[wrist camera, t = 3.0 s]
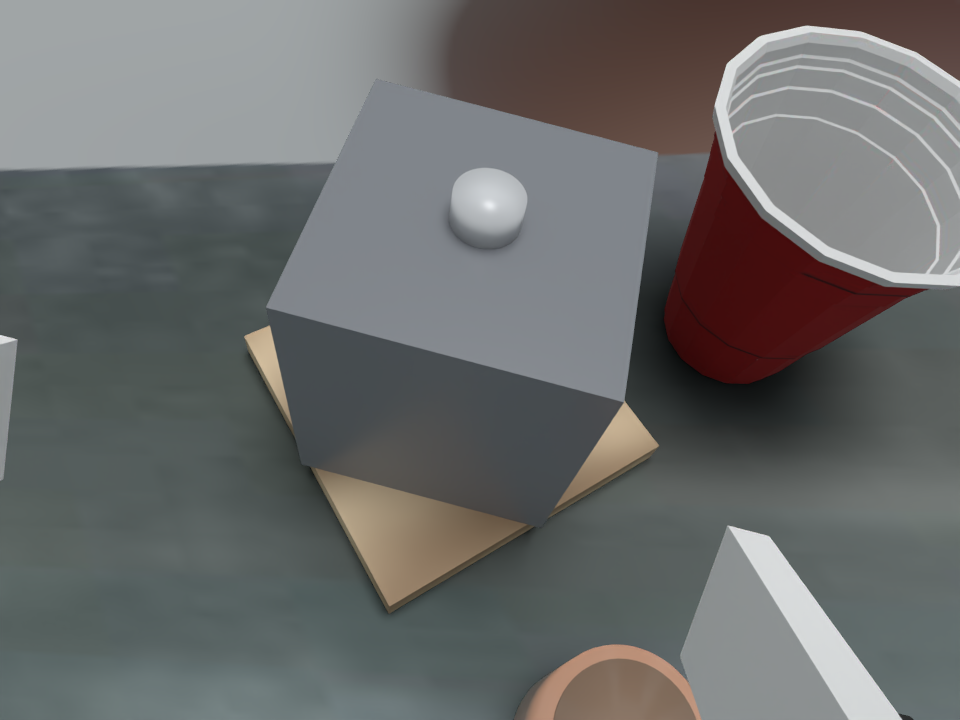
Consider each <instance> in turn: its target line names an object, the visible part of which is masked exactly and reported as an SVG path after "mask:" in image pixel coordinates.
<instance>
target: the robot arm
mask: <svg viewBox="0 0 960 720" xmlns="http://www.w3.org/2000/svg"><path fill="white" fill-rule="evenodd" d="M16 349H17V339H13V338H9V337H5V336H1V335H0V480H2V479H3V476H4V467H5V457H6V447H7V437H8V428H9V418H10V408H11V398H12V388H13V379H14V369H15V359H16ZM680 658H681V661H682V664H683V667H684V670H685V673H686V676H687V678H688V681H689V684H690V687H691V690H692V693H693V696H694V699H695V702H696V705H697V708H698V711H699V714H700V717H701V719H702V720H913V719H912V718H911V717H910V716H906V715H902V714H899V713H897V712H896V710H895V709H894V708H893V706H892V705H891V704H890V702H889V701H888V699H887V698H886V697H885V695H884V694H883V692H882V691H881V690H880V688H879V687H878V686H877V684H876V683H875V681H874V680H873V679H872V677H871V676H870V675H869V673H868V672H867V670H866V669H865V668H864V666H863V665H862V664H861V662H860V661H859V659H858V658H857V657H856V655H855V654H854V652H853V651H852V650H851V648H850V647H849V646H848V644H847V643H846V641H845V640H844V639H843V637H842V636H841V635H840V633H839V632H838V630H837V629H836V628H835V626H834V625H833V624H832V622H831V621H830V619H829V618H828V617H827V615H826V614H825V613H824V611H823V610H822V608H821V607H820V606H819V604H818V603H817V601H816V600H815V599H814V597H813V596H812V595H811V593H810V592H809V590H808V589H807V588H806V586H805V585H804V584H803V582H802V581H801V579H800V578H799V577H798V575H797V574H796V573H795V571H794V570H793V568H792V567H791V566H790V564H789V563H788V562H787V560H786V559H785V557H784V556H783V555H782V553H781V552H780V550H779V549H778V548H777V546H776V545H775V544H774V542H773V541H772V539H771V538H770V537H769V536H766V535H762V534H759V533H755V532H751V531H747V530H743V529H739V528H736V527H732V526H727V529H726V532H725V534H724V537H723V540H722V542H721V545H720V548H719V551H718V553H717V556H716V559H715V562H714V564H713V567H712V570H711V572H710V575H709V578H708V581H707V583H706V586H705V589H704V592H703V594H702V597H701V600H700V602H699V605H698V608H697V611H696V613H695V616H694V619H693V622H692V624H691V627H690V630H689V632H688V635H687V638H686V641H685V643H684V646H683V649H682V652H681V654H680Z"/></svg>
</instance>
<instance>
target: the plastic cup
mask: <svg viewBox="0 0 960 720" xmlns="http://www.w3.org/2000/svg"><path fill="white" fill-rule="evenodd" d="M712 117H713V121H714V125H715V130H716V131H715V134H714V141H713V144H712V148H711V152H710V157H709V161H708V164H707V168H706V172H705V175H704V180H703V183H702V186H701V189H700V192H699V196H698V199H697V202H696V205H695V208H694V211H693V214H692V217H691V220H690V223H689V226H688V229H687V232H686V235H685V238H684V241H683V244H682V247H681V251H680V255H679V258H678V262H677V266H676V270H675V276H674V279H673V282H672V285H671V288H670V291H669V295H668V298H667V302H666V306H665V316H664V322H665V327H666V331H667V336H668V340H669V341H670V343H671V344H672V346H673V347H674V349H675V350H676V352H677V353H678V355H679V356H680V357H681V359H682V360H684V361H685V362H686V363H687V364H689V365H690V366H691V367H693V368H694V369H695V370H697V371H698V372H699V373H700V374H702V375H704V376H707V377H710V378H713V379H715V380H718V381H721V382H723V383H738V384H750V383H752V382H754V381H758V380H760V379H763V378H765V377H768V376H770V375H773V374H775V373H777V372H779V371H781V370H783V369H784V368H786V367H787V366H789V365H790V364H792V363H794V362H795V361H797V360H798V359H800V358H801V357H803V356H804V355H806V354H808V353H811V352H813V351H815V350H818V349H820V348H822V347H824V346H825V345H827V344H829V343H830V342H832V341H834V340H835V339H837V338H839V337H841V336H842V335H844V334H846V333H847V332H849V331H851V330H852V329H854V328H856V327H857V326H859V325H861V324H863V323H864V322H866V321H868V320H869V319H871V318H873V317H874V316H876V315H878V314H880V313H881V312H883V311H885V310H886V309H888V308H890V307H891V306H893V305H895V304H897V303H898V302H900V301H902V300H903V299H905V298H907V297H910V296H912V295H915V294H917V293H920V292H922V291H924V290H928V289H943V290H948V289H952V288H955V287H958V286H960V81H958V80H957V79H955V78H954V77H952V76H951V75H949V74H948V73H946V72H945V71H943V70H942V69H940V68H939V67H937V66H936V65H934V64H933V63H931V62H930V61H928V60H927V59H925V58H924V57H922V56H921V55H919V54H918V53H916V52H913V51H910V50H908V49H906V48H903V47H900V46H897V45H895V44H892V43H890V42H886V41H884V40H882V39H879V38H876V37H874V36H871V35H868V34H866V33H863V32H860V31H851V30H842V29H833V28H822V27H813V26H803V27H799V28H795V29H790V30H785V31H781V32H777V33H772V34H768V35H764V36H760V37H758V38H757V39H756V40H755V41H753V42H752V43H751V44H750V45H749V46H748V47H747V48H745V49H744V50H743V51H742V52H740V53H739V54H738V55H737V56H736V57H735V58H733V59H732V60H731V61H730V62H728V63H727V65H726V69H725V72H724V76H723V80H722V83H721V86H720V89H719V93H718V97H717V100H716V104H715V107H714V112H713V116H712Z"/></svg>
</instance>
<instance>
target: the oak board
mask: <svg viewBox="0 0 960 720" xmlns="http://www.w3.org/2000/svg"><path fill="white" fill-rule="evenodd" d="M244 338H245V341H246V344H247V348H248V351H249V353H250V355H251V357H252V359H253V361H254V363H255V365H256V367H257V368H258V370H259V372H260V374H261V376H262V378H263V380H264V381H265V383H266V385H267V387H268V389H269V391H270V393H271V395H272V396H273V398H274V400H275V402H276V404H277V406H278V408H279V410H280V411H281V413H282V415H283V417H284V419H285V421H286V423H287V424H288V426H289V428H290V430H291V432H292V434H293V436H294V438H295V434H294V430H293V426H292V421H291V417H290V412H289V408H288V403H287V399H286V395H285V390H284V386H283V381H282V377H281V372H280V368H279V364H278V359H277V355H276V350H275V346H274V341H273V337H272V332H271V328H270V326H268V327H265V328H263V329H260V330H258V331H256V332H253V333H251V334H248V335H246V336H244ZM658 447H659V445H658V444H657V443H656V441H655V440H654V439H653V437H652V436H651V435H650V433H649V432H648V431H647V430H646V428H645V427H644V426H643V424H642V423H641V422H640V420H639V419H638V418H637V417H636V415H635V414H634V413H633V411H632V410H631V409H630V407H629V406H628V405H627V403H626V402H625V401H624V403H623V405H622V406H621V408H620V409H619V411H618V412H617V414H616V415H615V417H614V418H613V420H612V421H611V423H610V425H609V426H608V428H607V429H606V431H605V432H604V434H603V435H602V437H601V438H600V440H599V441H598V443H597V444H596V446H595V447H594V449H593V450H592V452H591V453H590V455H589V456H588V458H587V459H586V461H585V462H584V464H583V465H582V467H581V468H580V470H579V472H578V473H577V475H576V476H575V478H574V479H573V481H572V482H571V484H570V485H569V487H568V488H567V490H566V491H565V493H564V494H563V496H562V497H561V499H560V500H559V502H558V503H557V505H556V506H555V508H554V509H553V511H552V512H551V514H550V516H549V517H548V518H550V517H551V516H553V515H555V514H556V513H558V512H560V511H561V510H563V509H565V508H566V507H568V506H570V505H571V504H573V503H575V502H576V501H578V500H580V499H581V498H583V497H585V496H586V495H588V494H590V493H591V492H593V491H595V490H596V489H598V488H600V487H601V486H603V485H605V484H606V483H608V482H610V481H611V480H613V479H615V478H616V477H618V476H620V475H621V474H623V473H625V472H626V471H628V470H630V469H631V468H633V467H635V466H636V465H638V464H640V463H641V462H643V461H645V460H646V459H648V458H649V457H650V456H651V455H652V454H653V453H654V451H655V450H656V449H657V448H658ZM311 469H312V471H313V473H314V475H315V477H316V479H317V481H318V482H319V484H320V486H321V488H322V490H323V492H324V494H325V496H326V497H327V499H328V501H329V503H330V505H331V507H332V509H333V510H334V512H335V514H336V516H337V518H338V520H339V522H340V524H341V525H342V527H343V529H344V531H345V533H346V535H347V537H348V539H349V540H350V542H351V544H352V546H353V548H354V550H355V552H356V553H357V555H358V557H359V559H360V561H361V563H362V565H363V567H364V568H365V570H366V572H367V574H368V576H369V578H370V580H371V582H372V583H373V585H374V587H375V589H376V591H377V593H378V595H379V596H380V598H381V600H382V602H383V604H384V606H385V608H386V610H387V611H388V613H391V612H393V611H394V610H396V609H398V608H399V607H401V606H403V605H404V604H406V603H408V602H409V601H411V600H413V599H414V598H416V597H418V596H419V595H421V594H423V593H424V592H426V591H428V590H429V589H431V588H433V587H434V586H436V585H438V584H439V583H441V582H443V581H444V580H446V579H448V578H449V577H451V576H453V575H454V574H456V573H458V572H459V571H461V570H463V569H464V568H466V567H468V566H469V565H471V564H473V563H474V562H476V561H478V560H479V559H481V558H483V557H484V556H486V555H488V554H489V553H491V552H493V551H494V550H496V549H498V548H499V547H501V546H503V545H505V544H506V543H508V542H510V541H511V540H513V539H515V538H516V537H518V536H520V535H521V534H523V533H525V532H526V531H528V530H530V529H531V528H533V527H535V526H532V525H528V524H524V523H520V522H517V521H513V520H509V519H505V518H502V517H498V516H494V515H490V514H487V513H483V512H479V511H475V510H471V509H468V508H464V507H460V506H456V505H453V504H449V503H445V502H441V501H438V500H434V499H430V498H426V497H423V496H419V495H415V494H411V493H407V492H404V491H400V490H396V489H392V488H389V487H385V486H381V485H377V484H374V483H370V482H366V481H362V480H359V479H355V478H351V477H347V476H344V475H340V474H336V473H332V472H328V471H325V470H321V469H317V468H313V467H311Z"/></svg>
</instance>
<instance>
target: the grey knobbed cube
mask: <svg viewBox="0 0 960 720" xmlns="http://www.w3.org/2000/svg"><path fill="white" fill-rule="evenodd" d="M657 157H658V152H653V151H650V150H646V149H643V148H639V147H635V146H631V145H627V144H624V143H619V142H616V141H612V140H608V139H604V138H601V137H596V136H593V135H589V134H585V133H581V132H577V131H574V130H570V129H566V128H562V127H559V126H554V125H551V124H547V123H543V122H539V121H536V120H532V119H528V118H524V117H520V116H516V115H513V114H509V113H505V112H501V111H497V110H493V109H490V108H486V107H482V106H478V105H475V104H470V103H467V102H463V101H459V100H455V99H452V98H447V97H444V96H440V95H436V94H433V93H429V92H425V91H421V90H417V89H413V88H410V87H406V86H402V85H398V84H394V83H391V82H387V81H382V80H379V79H376V80H375V82H374V84H373V86H372V88H371V90H370V92H369V94H368V96H367V98H366V100H365V102H364V105H363V107H362V109H361V111H360V113H359V115H358V117H357V119H356V121H355V123H354V125H353V127H352V130H351V132H350V134H349V136H348V138H347V140H346V142H345V144H344V146H343V148H342V150H341V153H340V155H339V157H338V159H337V161H336V163H335V165H334V167H333V169H332V171H331V173H330V175H329V177H328V179H327V181H326V184H325V186H324V188H323V190H322V192H321V194H320V196H319V198H318V200H317V202H316V204H315V206H314V209H313V211H312V213H311V215H310V217H309V219H308V221H307V223H306V225H305V227H304V229H303V231H302V233H301V236H300V238H299V240H298V242H297V244H296V246H295V248H294V250H293V252H292V254H291V256H290V258H289V260H288V263H287V265H286V267H285V269H284V271H283V273H282V275H281V277H280V279H279V281H278V283H277V285H276V288H275V290H274V292H273V294H272V296H271V298H270V300H269V302H268V304H267V306H266V310H267V315H268V319H269V324H270V328H271V332H272V337H273V341H274V346H275V350H276V355H277V359H278V364H279V368H280V372H281V377H282V381H283V386H284V390H285V395H286V399H287V403H288V408H289V412H290V417H291V421H292V426H293V430H294V434H295V439H296V443H297V448H298V452H299V457H300V461H301V464H302V465H306V466H310V467H313V468H317V469H321V470H325V471H328V472H332V473H336V474H340V475H344V476H347V477H351V478H355V479H359V480H362V481H366V482H370V483H374V484H377V485H381V486H385V487H389V488H392V489H396V490H400V491H404V492H407V493H411V494H415V495H419V496H423V497H426V498H430V499H434V500H438V501H441V502H445V503H449V504H453V505H456V506H460V507H464V508H468V509H471V510H475V511H479V512H483V513H487V514H490V515H494V516H498V517H502V518H505V519H509V520H513V521H517V522H520V523H524V524H528V525H532V526H535V527H539V528H542V526H543V525H544V523H545V522H546V520H547V519H548V517H549V516H550V514H551V512H552V511H553V509H554V508H555V506H556V505H557V503H558V502H559V500H560V499H561V497H562V496H563V494H564V493H565V491H566V490H567V488H568V487H569V485H570V484H571V482H572V481H573V479H574V478H575V476H576V475H577V473H578V472H579V470H580V468H581V467H582V465H583V464H584V462H585V461H586V459H587V458H588V456H589V455H590V453H591V452H592V450H593V449H594V447H595V446H596V444H597V443H598V441H599V440H600V438H601V437H602V435H603V434H604V432H605V431H606V429H607V428H608V426H609V425H610V423H611V421H612V420H613V418H614V417H615V415H616V414H617V412H618V411H619V409H620V408H621V406H622V405H623V403H624V400H625V392H626V385H627V378H628V370H629V363H630V356H631V348H632V341H633V334H634V326H635V319H636V311H637V304H638V297H639V289H640V282H641V275H642V267H643V260H644V252H645V245H646V238H647V230H648V223H649V216H650V208H651V201H652V194H653V186H654V179H655V171H656V164H657Z"/></svg>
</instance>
